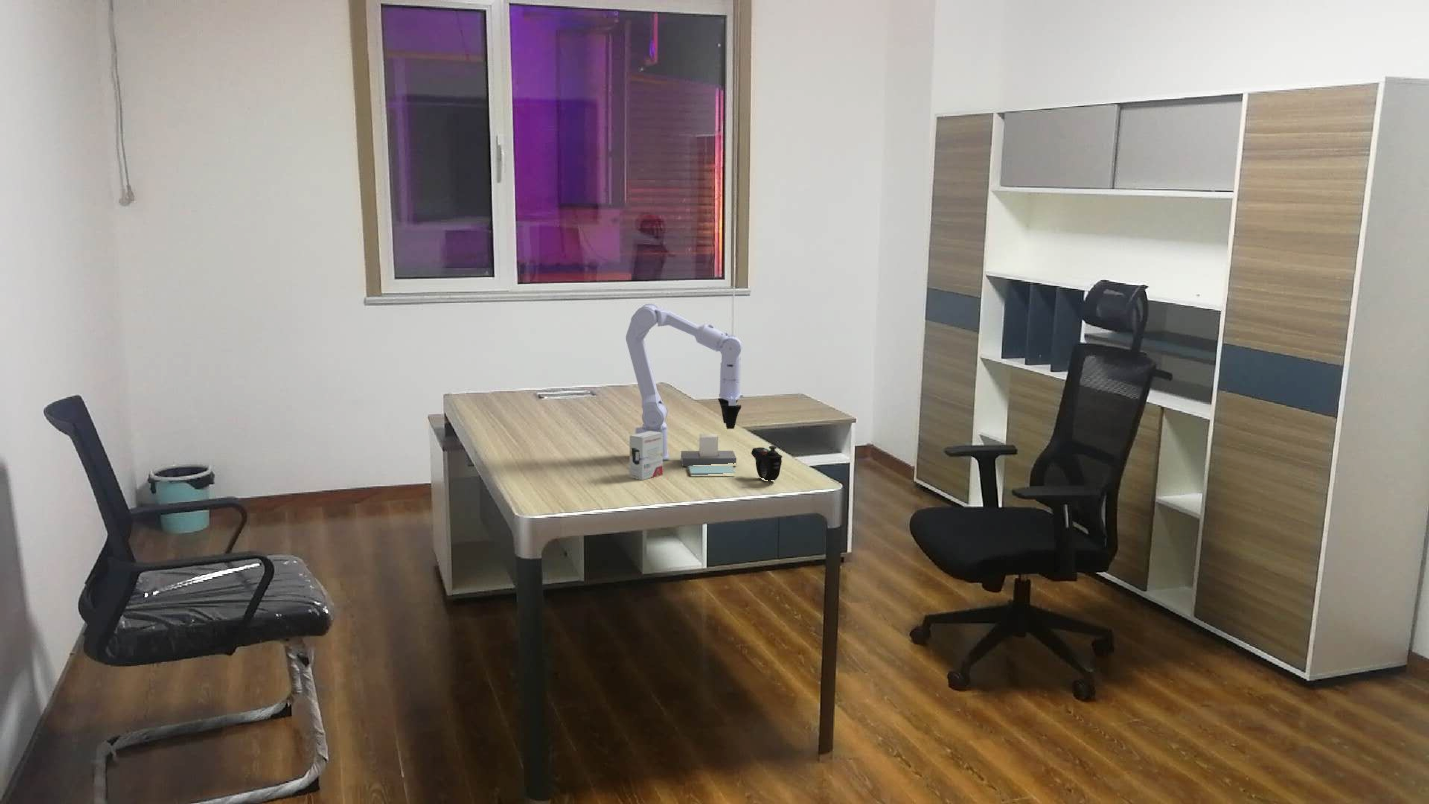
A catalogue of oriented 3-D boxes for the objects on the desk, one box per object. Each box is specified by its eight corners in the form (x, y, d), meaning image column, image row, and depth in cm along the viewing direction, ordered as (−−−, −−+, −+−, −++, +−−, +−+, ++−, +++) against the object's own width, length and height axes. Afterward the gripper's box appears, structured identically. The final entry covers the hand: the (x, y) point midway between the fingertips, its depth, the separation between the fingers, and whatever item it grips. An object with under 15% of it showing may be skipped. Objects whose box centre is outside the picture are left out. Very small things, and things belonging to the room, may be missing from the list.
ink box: (650, 471, 301) (650, 429, 299) (663, 474, 298) (663, 432, 296) (628, 477, 294) (628, 434, 292) (641, 480, 291) (642, 437, 289)
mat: (690, 476, 296) (690, 473, 296) (688, 469, 304) (688, 465, 304) (734, 476, 297) (734, 472, 297) (731, 469, 305) (731, 465, 305)
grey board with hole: (682, 467, 306) (682, 458, 306) (681, 459, 315) (681, 450, 315) (736, 466, 308) (736, 458, 307) (732, 459, 316) (733, 450, 316)
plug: (700, 465, 309) (700, 437, 308) (699, 461, 313) (699, 434, 312) (717, 464, 310) (718, 437, 308) (716, 461, 314) (716, 434, 312)
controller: (769, 486, 288) (770, 449, 286) (748, 475, 299) (749, 439, 297) (783, 485, 289) (784, 448, 287) (762, 474, 300) (763, 438, 299)
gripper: (747, 383, 304) (745, 431, 307) (741, 374, 318) (739, 420, 321) (722, 383, 303) (720, 431, 306) (716, 374, 317) (715, 420, 320)
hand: (728, 425), depth 313 cm, fingers open, 7 cm apart
